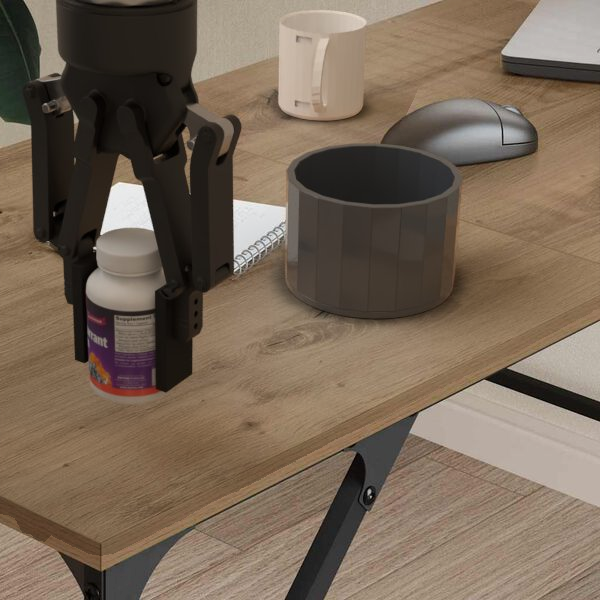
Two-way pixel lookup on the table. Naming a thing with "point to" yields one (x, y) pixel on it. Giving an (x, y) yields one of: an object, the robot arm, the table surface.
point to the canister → (371, 229)
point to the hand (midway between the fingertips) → (133, 366)
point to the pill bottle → (124, 317)
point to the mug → (321, 64)
